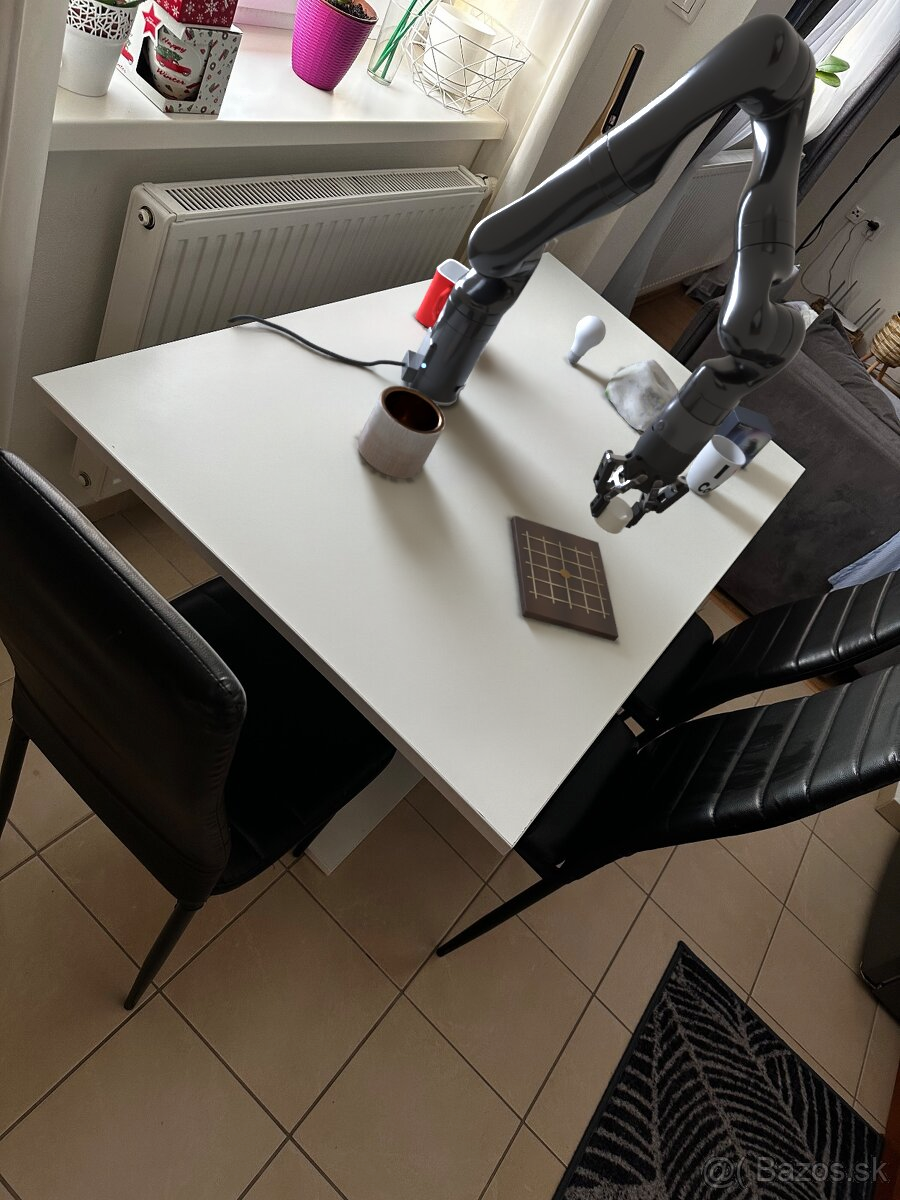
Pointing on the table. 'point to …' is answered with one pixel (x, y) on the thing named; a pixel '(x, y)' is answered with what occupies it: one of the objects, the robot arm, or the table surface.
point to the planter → (401, 431)
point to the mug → (439, 291)
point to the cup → (714, 465)
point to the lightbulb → (586, 337)
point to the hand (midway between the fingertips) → (609, 518)
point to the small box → (747, 431)
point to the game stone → (615, 516)
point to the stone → (640, 392)
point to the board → (562, 579)
